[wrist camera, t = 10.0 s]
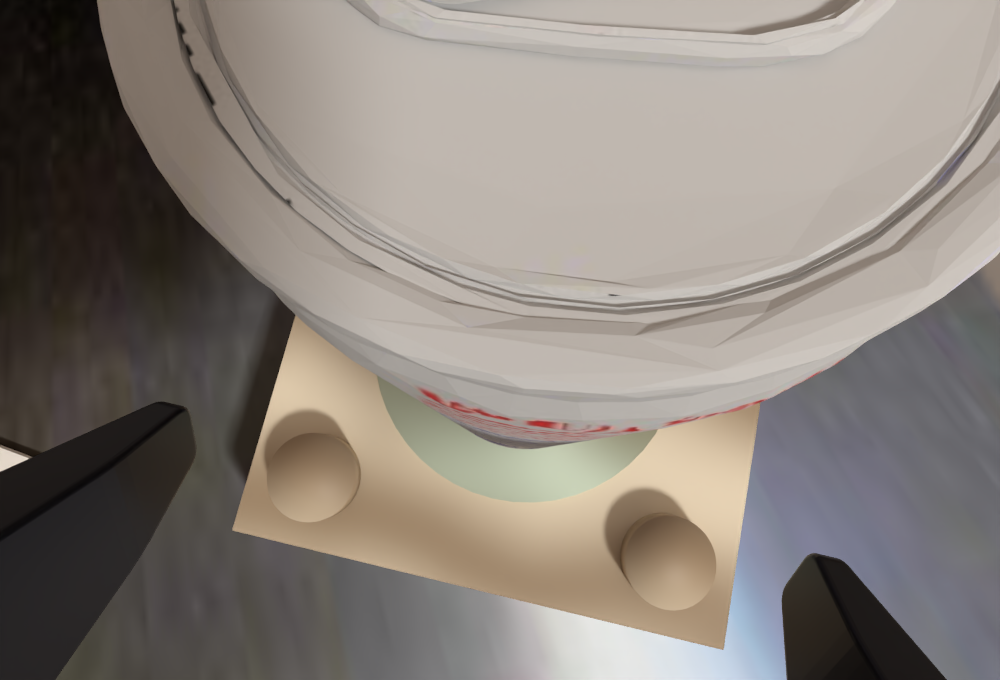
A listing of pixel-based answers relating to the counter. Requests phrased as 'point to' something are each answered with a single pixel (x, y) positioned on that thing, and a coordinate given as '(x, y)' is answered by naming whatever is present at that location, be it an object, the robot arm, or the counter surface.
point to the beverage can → (580, 185)
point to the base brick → (503, 499)
